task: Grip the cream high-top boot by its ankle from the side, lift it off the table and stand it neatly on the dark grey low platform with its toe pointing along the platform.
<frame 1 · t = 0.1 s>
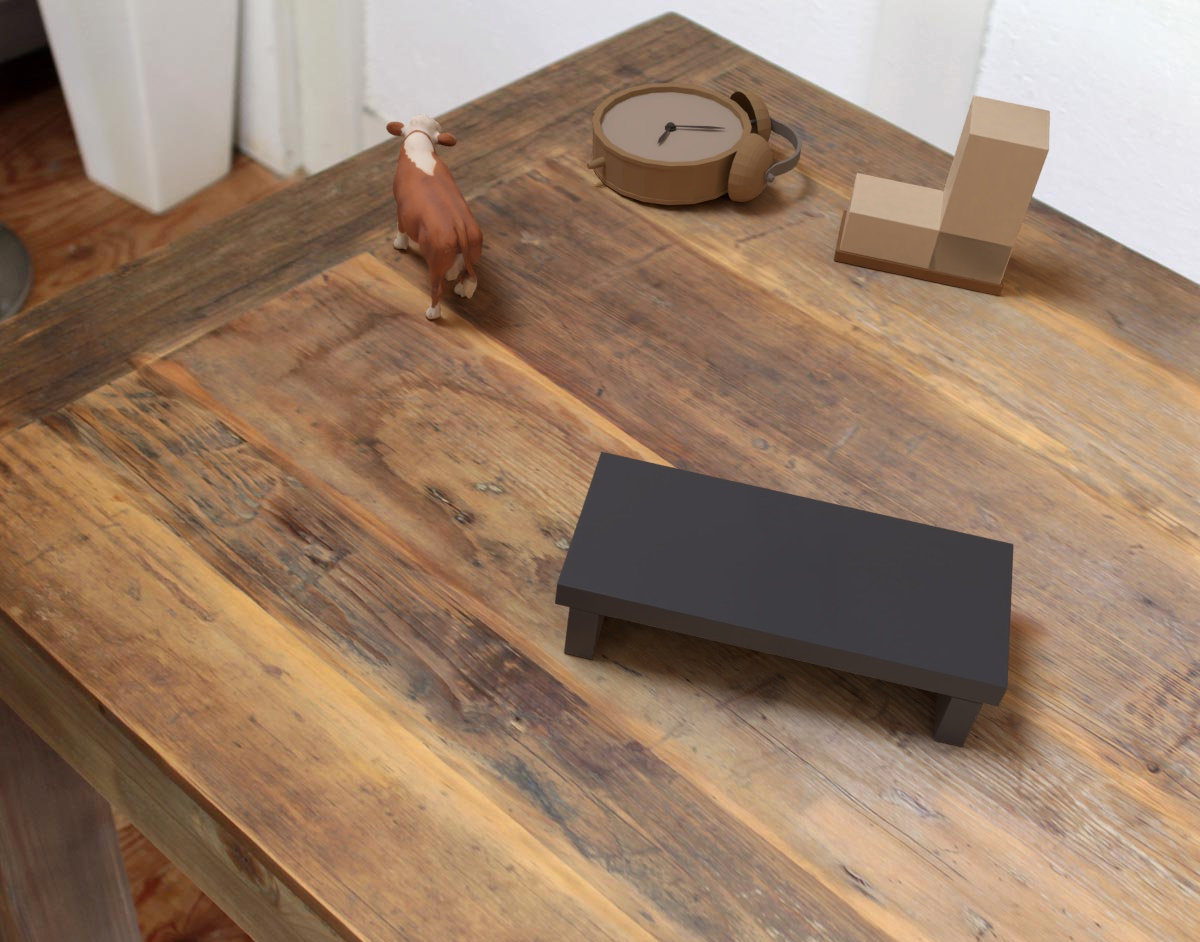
alarm clock: (690, 171, 107), on the table
dark grey low platform: (774, 628, 78), on the table
bull figurine: (431, 271, 96), on the table
boot: (918, 257, 102), on the table
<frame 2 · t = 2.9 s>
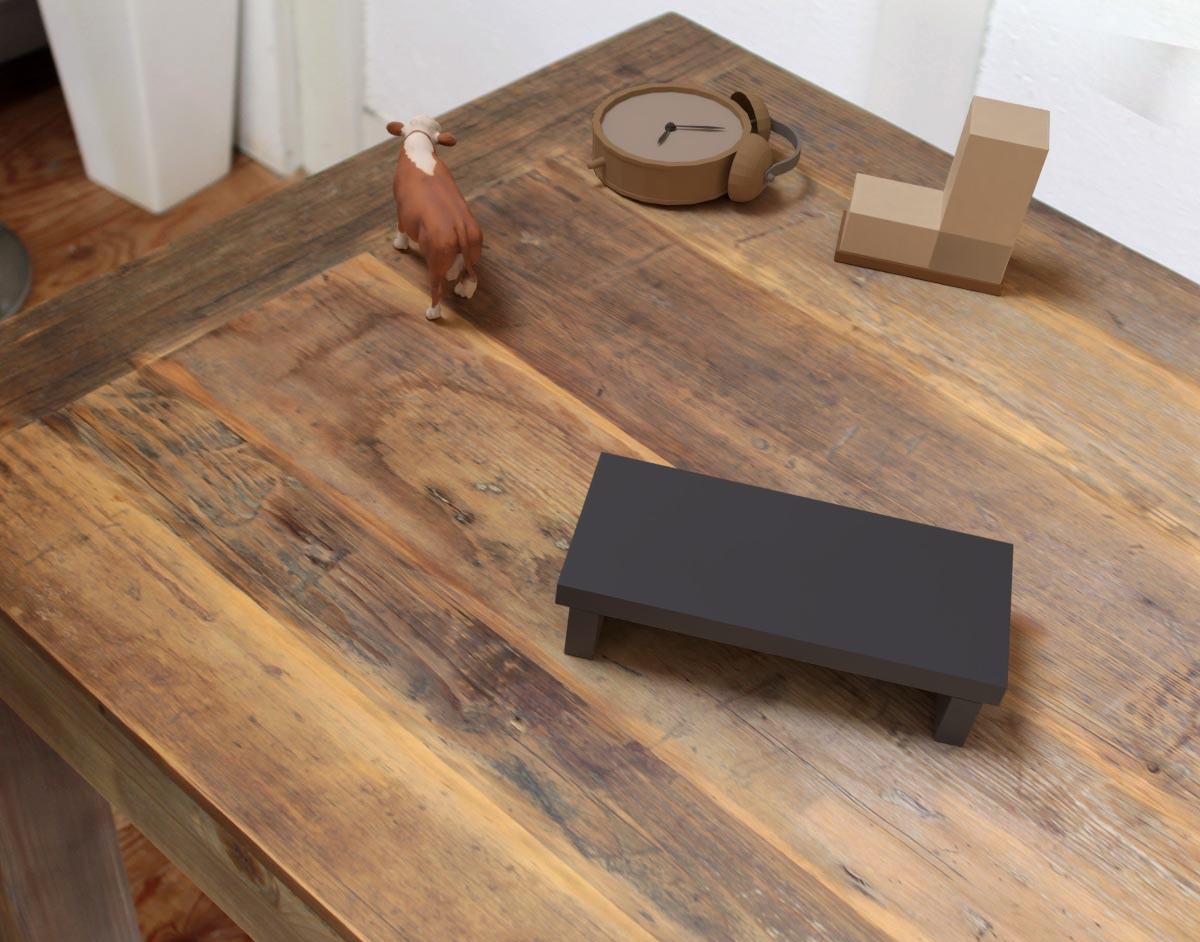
nothing on the table moved.
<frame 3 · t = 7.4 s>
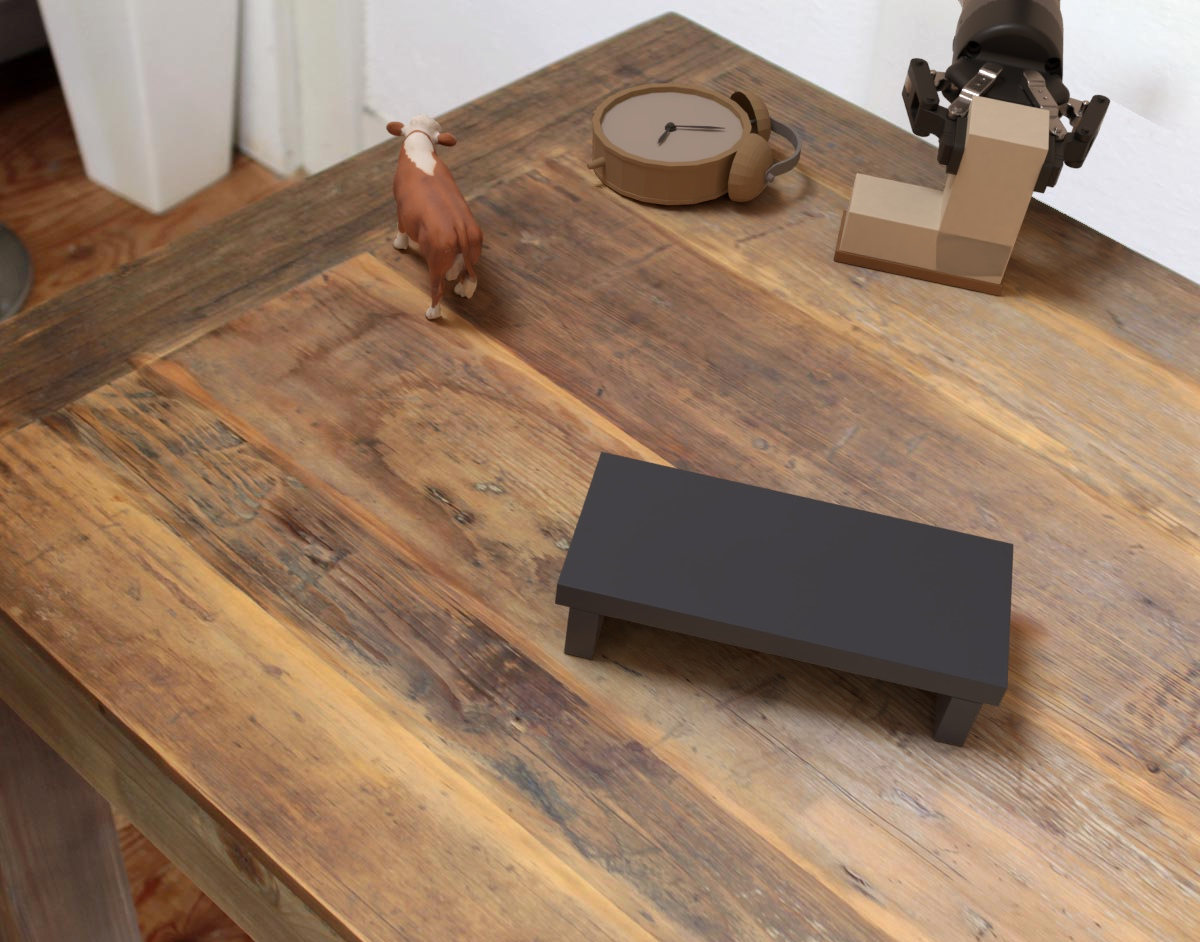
hand: (999, 170, 94), 9 cm above the table, tool horizontal, fingers closed on boot, 5 cm apart
boot: (918, 257, 102), on the table, touching gripper
everything else where it was.
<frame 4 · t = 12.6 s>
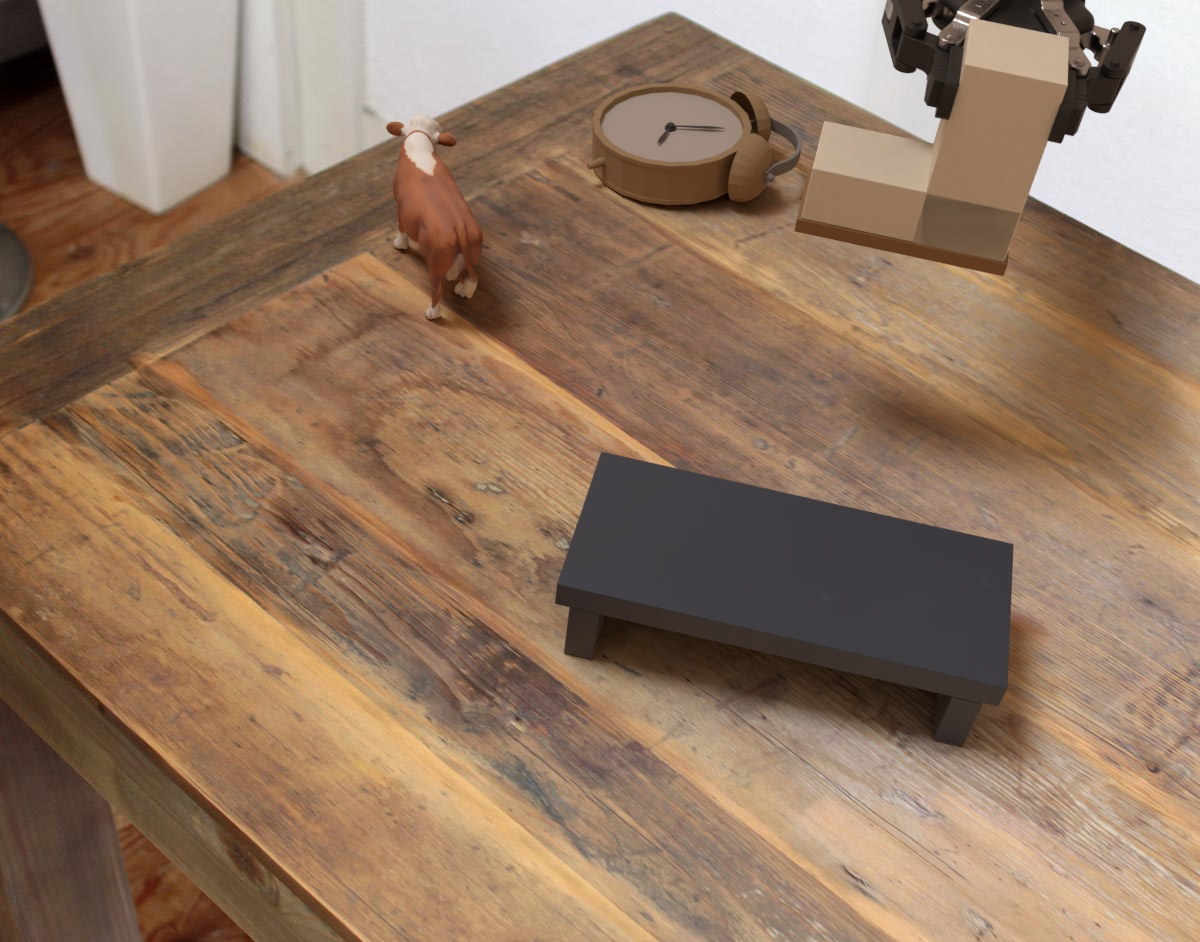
hand: (1004, 113, 73), 22 cm above the table, tool horizontal, fingers closed on boot, 5 cm apart
boot: (902, 227, 81), point 13 cm above the table, touching gripper
everything else where it was.
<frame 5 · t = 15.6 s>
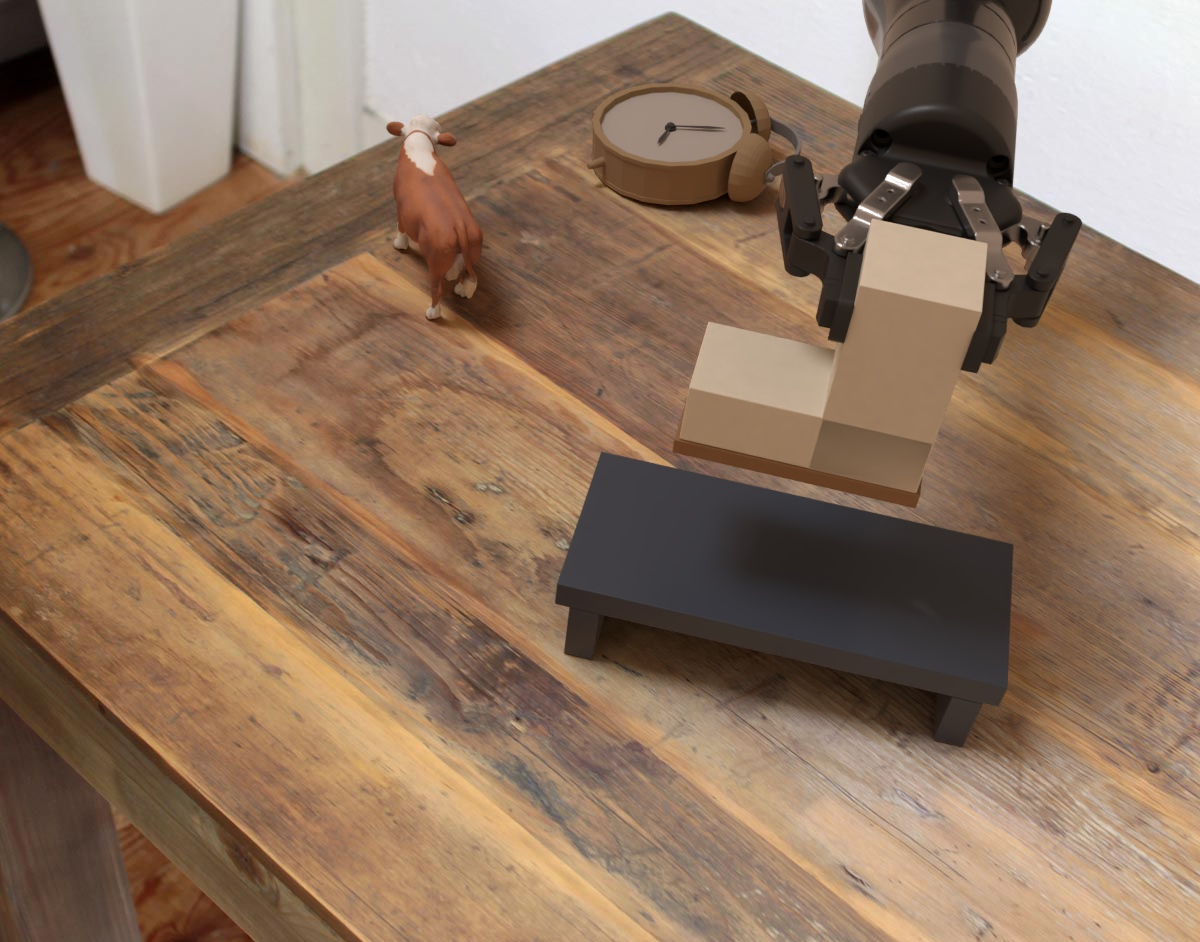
hand: (908, 339, 61), 21 cm above the table, tool horizontal, fingers closed on boot, 5 cm apart
boot: (800, 444, 70), point 12 cm above the table, touching gripper
everything else where it was.
when the fingers open (14 cm above the table, at t = 18.0 s): boot stays where it is, resting on dark grey low platform.
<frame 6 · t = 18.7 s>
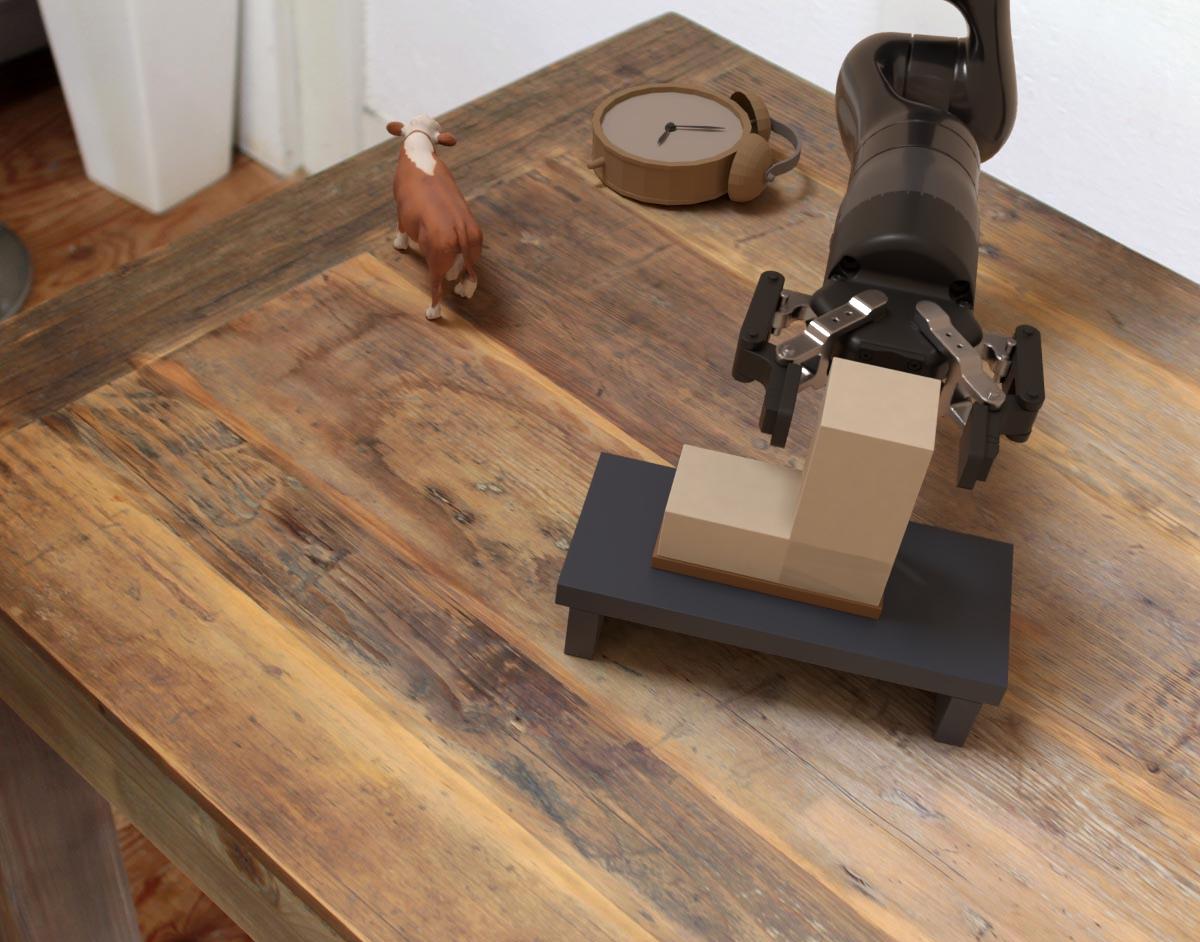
hand: (875, 454, 66), 15 cm above the table, tool horizontal, fingers open, 8 cm apart
boot: (770, 557, 74), point 5 cm above the table, touching dark grey low platform
everything else where it was.
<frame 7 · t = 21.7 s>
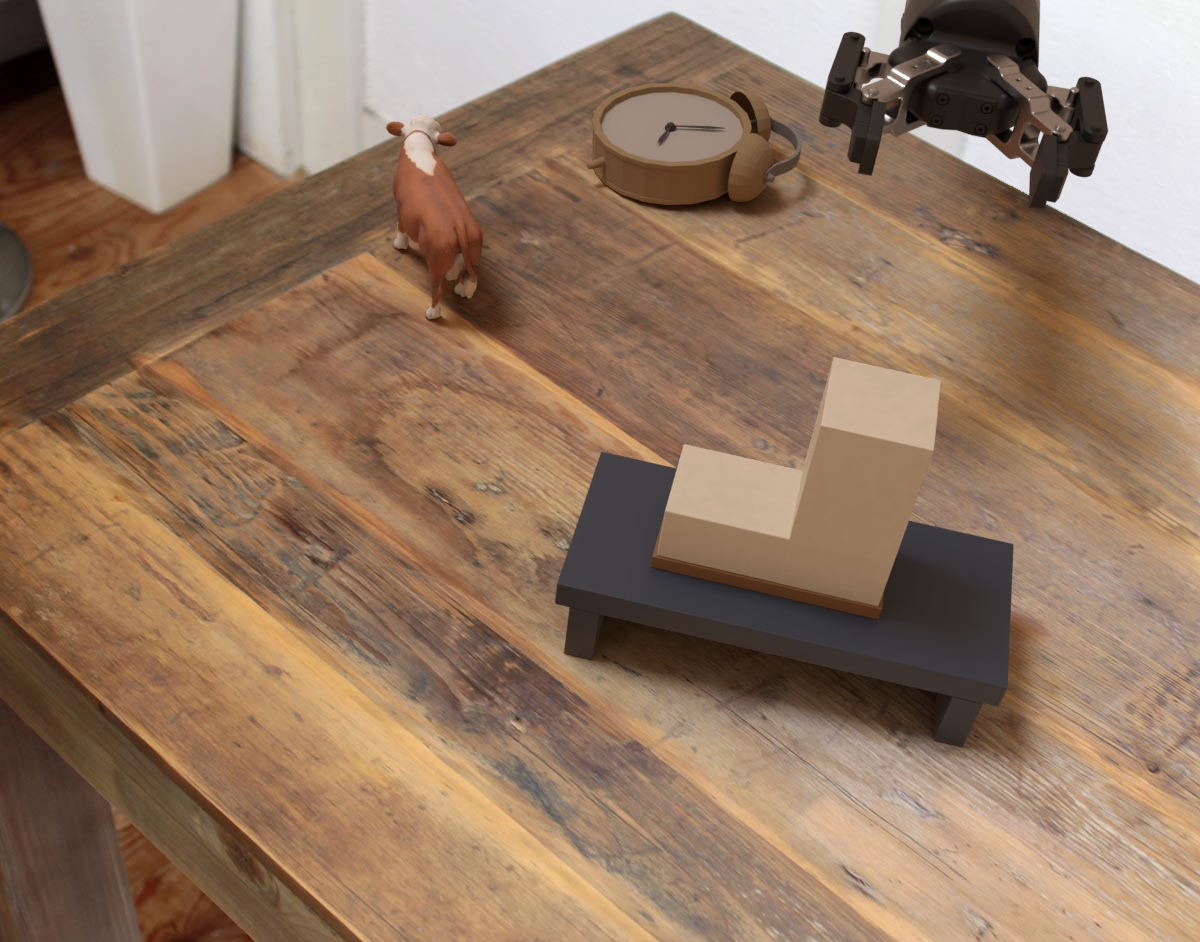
hand: (955, 176, 72), 20 cm above the table, tool horizontal, fingers open, 8 cm apart
nothing on the table moved.
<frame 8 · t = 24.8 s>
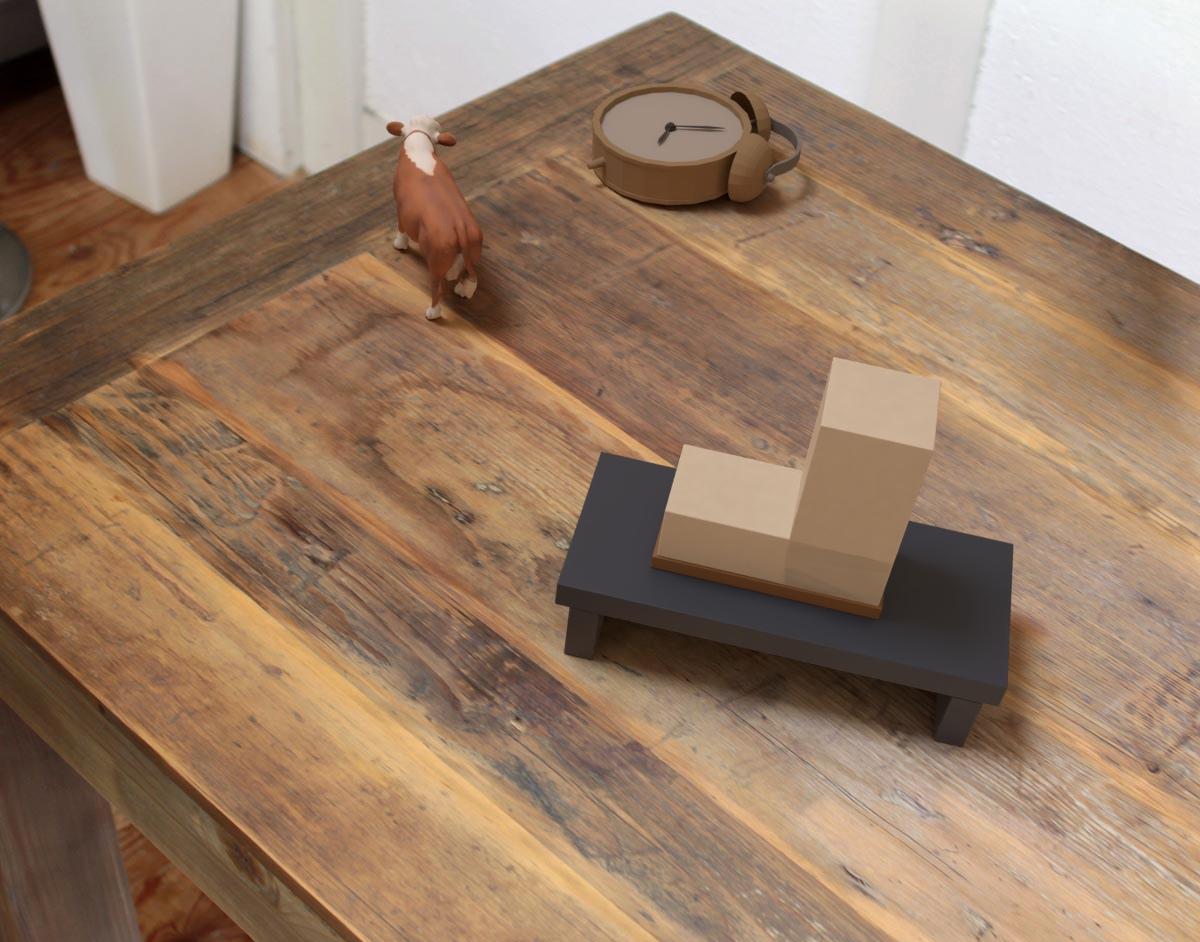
nothing on the table moved.
at the end: boot inside the target area on the dark grey low platform (0.1 cm from its centre), point 5.0 cm above the dark grey low platform's base; boot tilted 0°; the gripper is holding nothing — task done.
